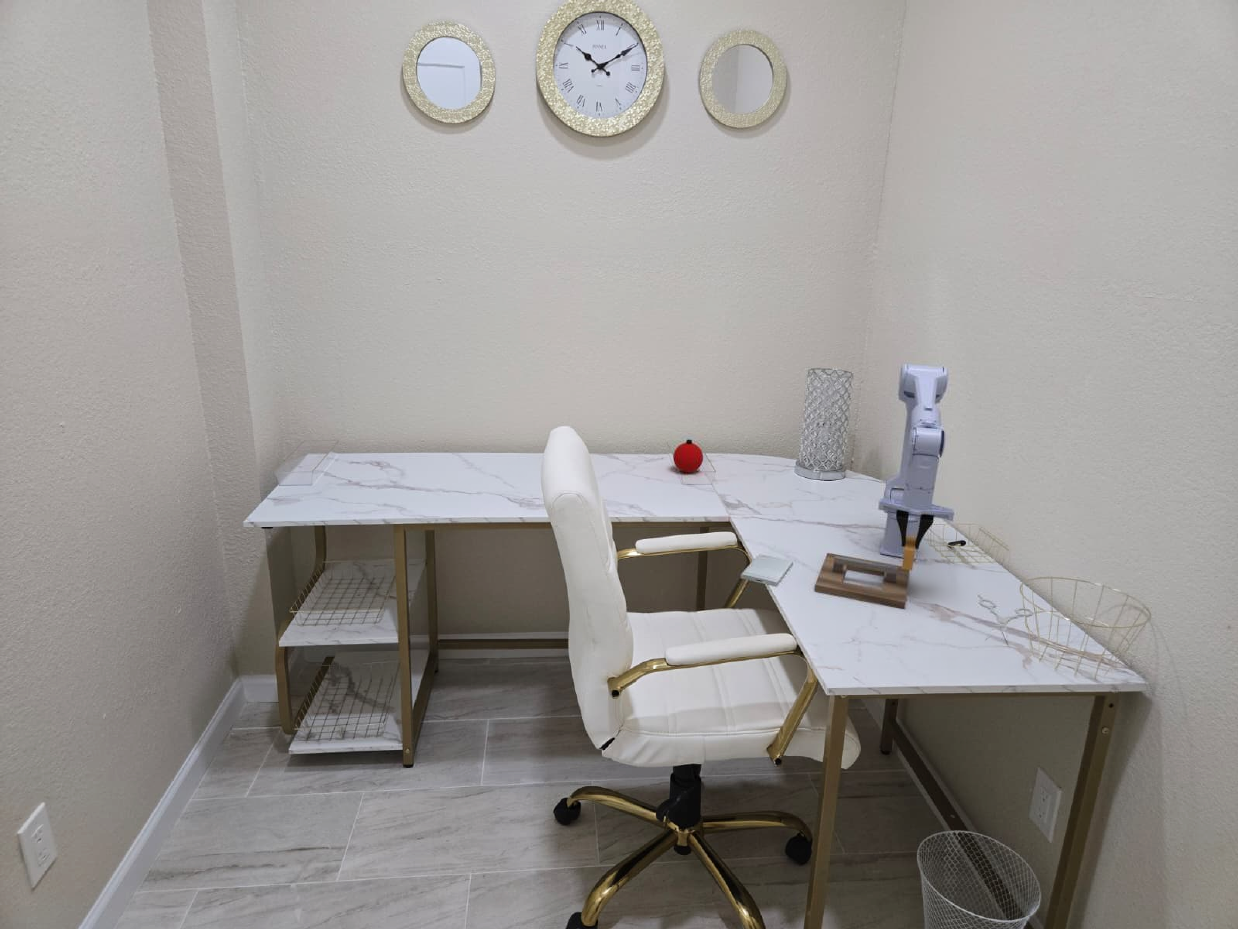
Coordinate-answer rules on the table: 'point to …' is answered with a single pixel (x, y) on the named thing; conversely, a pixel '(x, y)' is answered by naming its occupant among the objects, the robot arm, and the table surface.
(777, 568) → the hard drive
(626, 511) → the table surface
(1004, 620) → the scissors
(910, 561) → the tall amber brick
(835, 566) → the hook bar
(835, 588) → the brown wooden frame
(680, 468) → the ornament
